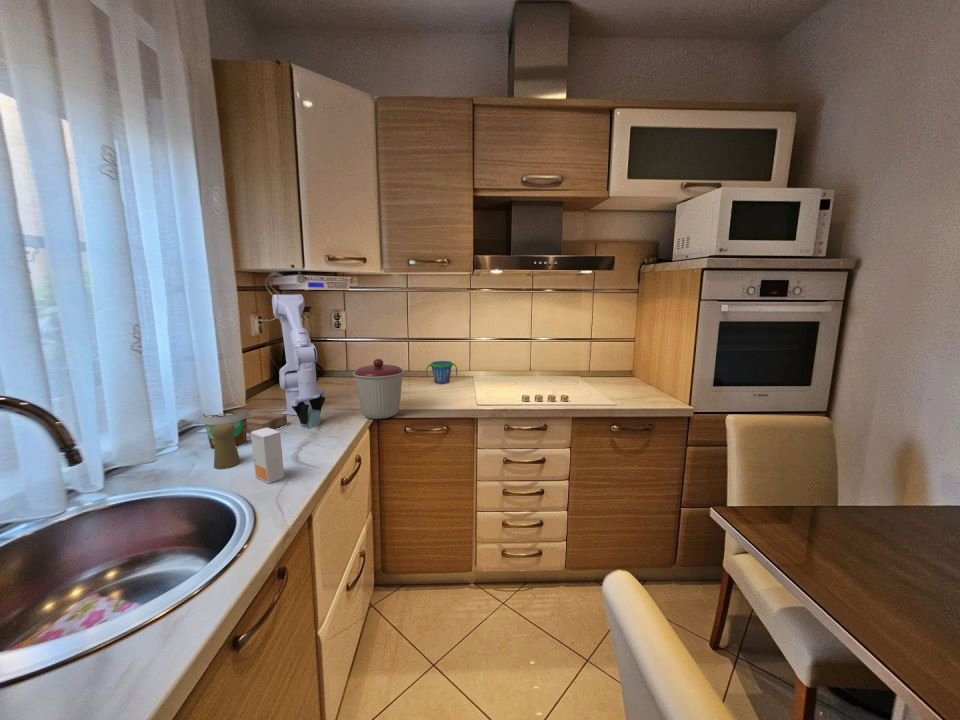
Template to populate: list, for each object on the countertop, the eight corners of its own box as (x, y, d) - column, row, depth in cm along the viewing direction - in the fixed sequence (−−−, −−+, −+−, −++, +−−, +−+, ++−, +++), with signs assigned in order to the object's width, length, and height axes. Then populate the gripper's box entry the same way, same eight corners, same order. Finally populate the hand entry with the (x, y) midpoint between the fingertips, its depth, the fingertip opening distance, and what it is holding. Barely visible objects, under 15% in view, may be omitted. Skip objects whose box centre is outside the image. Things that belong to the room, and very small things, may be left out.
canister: (347, 422, 138) (343, 363, 135) (365, 407, 156) (362, 354, 152) (398, 423, 137) (395, 363, 133) (410, 408, 155) (409, 355, 151)
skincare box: (254, 478, 97) (249, 431, 95) (271, 471, 101) (267, 426, 99) (268, 484, 94) (263, 436, 92) (285, 477, 98) (280, 431, 95)
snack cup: (425, 385, 192) (424, 364, 191) (427, 380, 203) (427, 360, 201) (457, 385, 193) (457, 364, 191) (458, 380, 203) (457, 360, 201)
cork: (211, 464, 105) (206, 424, 103) (237, 457, 109) (232, 419, 107) (216, 471, 101) (211, 430, 99) (243, 464, 105) (239, 424, 103)
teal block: (309, 422, 138) (308, 409, 137) (320, 424, 137) (319, 410, 136) (300, 427, 134) (299, 412, 133) (311, 428, 133) (310, 414, 132)
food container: (197, 453, 112) (192, 419, 110) (205, 445, 118) (201, 413, 116) (245, 448, 115) (242, 415, 114) (251, 441, 121) (248, 409, 120)
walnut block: (264, 423, 139) (263, 412, 138) (287, 426, 136) (286, 415, 135) (239, 432, 129) (238, 421, 129) (263, 436, 126) (262, 424, 126)
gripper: (301, 387, 125) (305, 428, 127) (331, 378, 138) (333, 415, 141) (283, 386, 127) (287, 426, 129) (314, 376, 140) (317, 413, 143)
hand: (310, 420), depth 135 cm, fingers open, 6 cm apart
